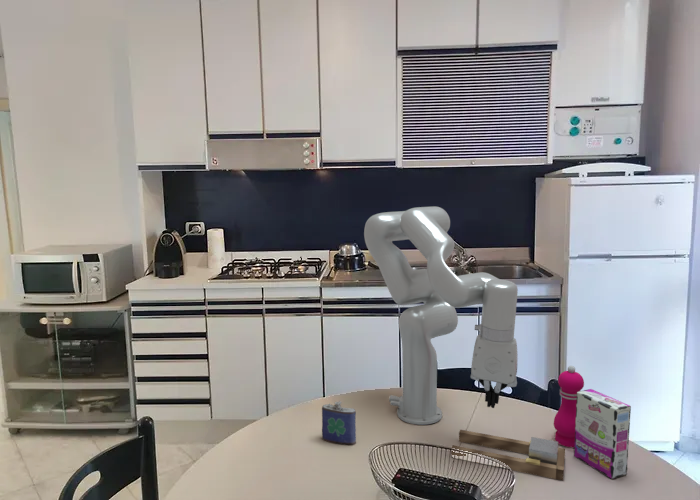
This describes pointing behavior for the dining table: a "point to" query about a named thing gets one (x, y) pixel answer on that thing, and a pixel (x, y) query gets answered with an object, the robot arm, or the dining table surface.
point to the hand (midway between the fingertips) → (491, 404)
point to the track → (515, 446)
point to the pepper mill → (567, 406)
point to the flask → (338, 424)
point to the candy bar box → (602, 432)
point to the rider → (543, 450)
